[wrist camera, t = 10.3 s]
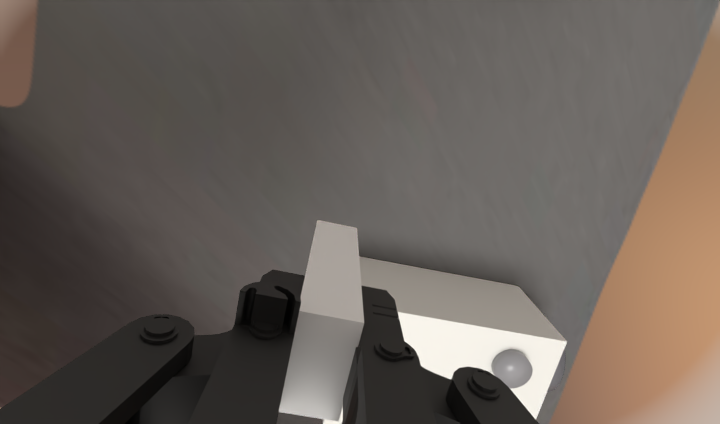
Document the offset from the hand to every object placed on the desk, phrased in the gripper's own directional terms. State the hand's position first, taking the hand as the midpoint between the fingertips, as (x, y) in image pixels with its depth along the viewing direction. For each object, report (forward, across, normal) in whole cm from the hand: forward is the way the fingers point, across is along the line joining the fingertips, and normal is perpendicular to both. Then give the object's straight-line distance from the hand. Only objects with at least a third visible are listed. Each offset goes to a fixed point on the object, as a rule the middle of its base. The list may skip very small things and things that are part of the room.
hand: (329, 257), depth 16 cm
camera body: (+24, +13, -15) cm, 32 cm away
